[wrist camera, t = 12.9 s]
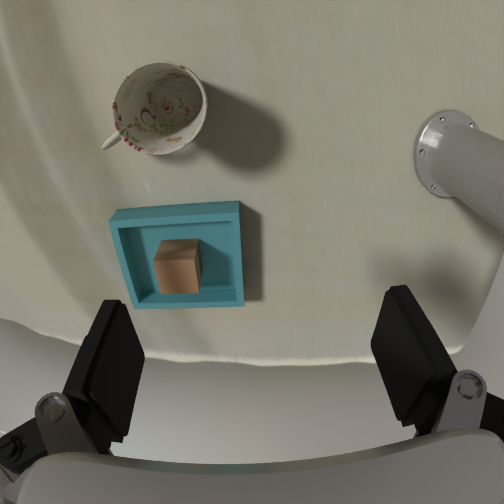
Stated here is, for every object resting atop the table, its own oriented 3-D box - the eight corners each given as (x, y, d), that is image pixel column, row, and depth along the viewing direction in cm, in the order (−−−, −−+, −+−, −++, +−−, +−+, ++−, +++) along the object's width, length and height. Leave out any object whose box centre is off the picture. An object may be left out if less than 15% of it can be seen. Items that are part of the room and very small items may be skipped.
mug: (229, 109, 32) (226, 121, 24) (142, 166, 35) (112, 197, 27) (191, 51, 29) (173, 42, 20) (104, 114, 32) (63, 129, 23)
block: (198, 238, 40) (194, 259, 36) (202, 270, 43) (199, 293, 38) (161, 239, 40) (152, 261, 36) (167, 271, 43) (160, 294, 38)
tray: (238, 200, 38) (238, 212, 35) (244, 290, 46) (244, 306, 43) (117, 209, 38) (108, 221, 35) (139, 293, 46) (134, 308, 43)
